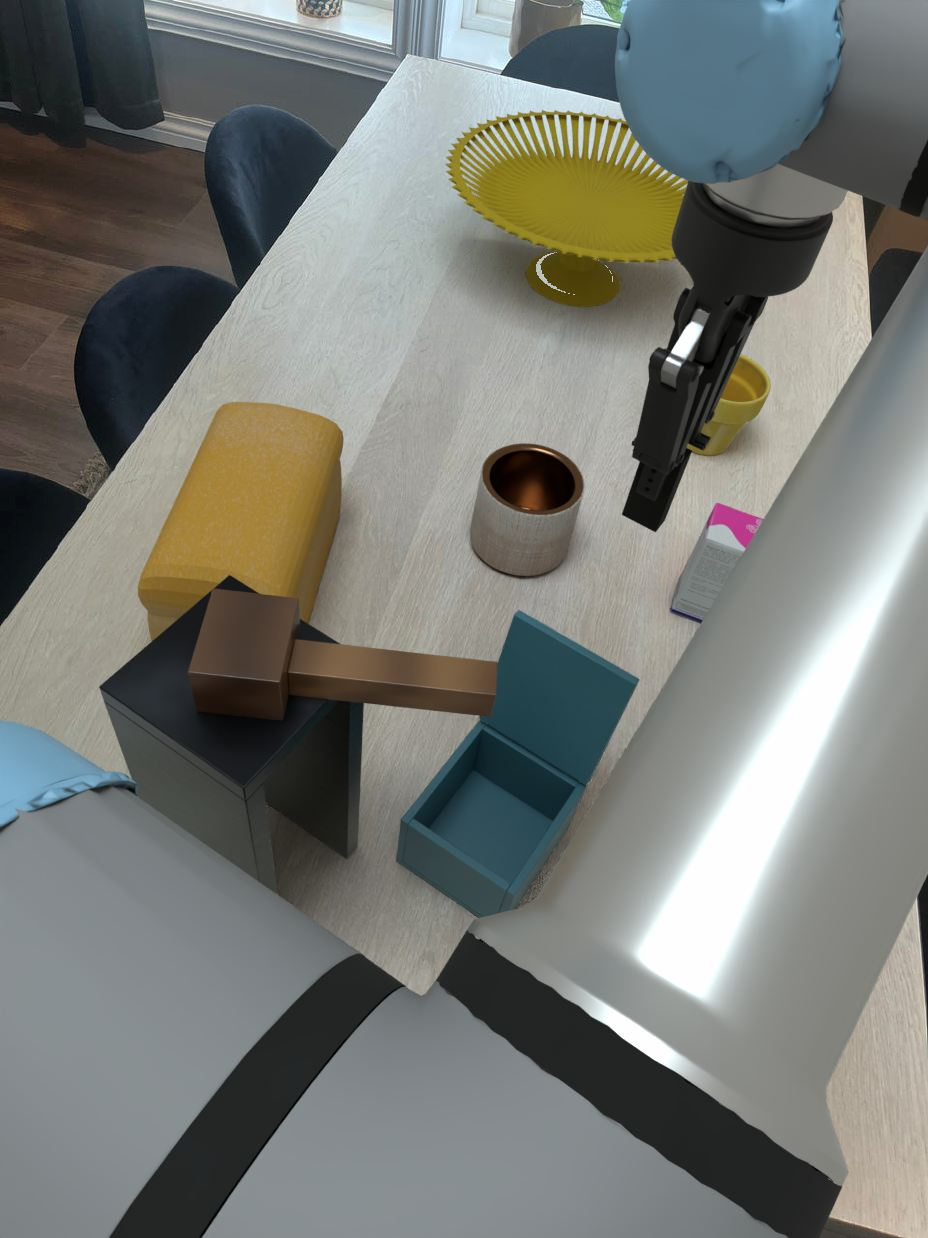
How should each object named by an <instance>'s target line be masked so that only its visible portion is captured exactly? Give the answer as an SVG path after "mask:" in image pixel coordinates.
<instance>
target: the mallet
mask: <svg viewBox="0 0 928 1238" xmlns="http://www.w3.org/2000/svg"><path fill="white" fill-rule="evenodd" d="M497 666H498V661H492V660H483V659H475V658H465V657H456V656H448V655H440V654H429V653H421V652H413V651H403V650H395V649H394V650H393V649H385V648H377V647H369V646H368V647H367V646H358V645H350V644H342V643H340V644H333V643H324V642H315V641H306V640H301V634H300V614H299V599H298V598H292V597H283V596H274V595H266V594H257V593H248V592H240V591H231V590H222V589H213V590H212V593H211V597H210V600H209V603H208V607H207V610H206V613H205V617H204V620H203V623H202V627H201V630H200V633H199V637H198V640H197V643H196V647H195V650H194V653H193V657H192V660H191V663H190V667H189V670H188V675H189V679H190V684H191V688H192V693H193V697H194V702H195V707H196V711H197V712H206V713H215V714H224V715H233V716H243V717H252V718H261V719H270V720H280V721H283V720H284V715H285V711H286V706H287V701H288V697H289V695H294V696H303V697H312V698H322V699H331V700H340V701H349V702H358V703H364V704H368V705H378V706H386V707H394V708H396V707H397V708H405V709H412V710H413V709H414V710H424V711H430V712H431V711H432V712H439V713H440V712H442V713H450V714H461V715H468V716H469V715H470V716H478V717H479V716H486V717H491V714H492V710H493V706H494V702H495V698H496V688H497Z"/></svg>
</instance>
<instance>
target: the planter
mask: <svg viewBox="0 0 928 1238" xmlns="http://www.w3.org/2000/svg"><path fill="white" fill-rule="evenodd" d="M584 492H585V479H584V476H583V474H582V471H581V470H580V468H579V467H578V466H577V464H576V463H575V462H574V461H573V460H572V459H570V457H568V456H567V455H565V454H564V453H562V452H561V451H558V450H557V449H554V448H552V447H550V446H549V447H548V446H546V445H541V444H536V443H530V442H529V443H526V442H523V443H522V442H521V443H512V444H507V445H504V446H502V447H499V448H498V449H496V450H494V451H493V452H491V453H490V454H489V455H488V456H487V457H486V458H485V460H484V461H483V463H482V466H481V469H480V474H479V479H478V485H477V490H476V495H475V502H474V505H473V506H474V507H473V512H472V517H471V522H470V527H469V528H470V530H469V532H470V533H469V535H470V542H471V545H472V547H473V550H474V551H475V553H476V554H477V556H478V557H479V558H480V559H481V560H482V561H483V562H485V564H487V565H489V566H490V567H491V568H494V569H495V570H497V571H499V572H501V573H506V574H508V575H513V576H519V577H531V576H539V575H542V574H545V573H548V572H550V571H553V569H555V568H557V567H558V566H559V565H560V564H561V563H562V562H563V560H564V559H565V557H566V555H567V553H568V552H569V548H570V545H571V541H572V537H573V533H574V529H575V525H576V522H577V518H578V513H579V510H580V507H581V503H582V500H583V496H584V494H585V493H584Z"/></svg>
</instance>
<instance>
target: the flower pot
mask: <svg viewBox="0 0 928 1238" xmlns="http://www.w3.org/2000/svg"><path fill="white" fill-rule="evenodd" d="M771 386H772V385H771V380H770V377H769V375H768V373H767V372H766V370H765V369H764V368H763V367H762V366H761V365H760V364H759V363H757V362H756V361H755V360H754V359H752V358H750V357H748V356H747V355H744V354H742V353H741V354H740V356H739V358H738V361H737V363H736V365H735V367H734V369H733V372H732V374H731V376H730V378H729V380H728V383H727V385H726V387H725V389H724V391H723V394H722V396H721V398H720V400H719V402H718V405H717V407H716V409H715V411H714V413H715V415H714V417H713V418H712V420H710V422H708V423H707V424H706V423H704V425H703V428H702V431H701V433H703V434H705V435H707V436H709V437H711V439H710V441H709V443H708V445H707V446H706V448H705V449H704V450H703V451H702V450H700V449H698V448H696V447H694V446H692V445H690V444H688V445H687V448H688V449H690V450H692V453H694V454H697V455H701V456H716V455H719V454H722V453H723V452H725V451H726V450H727V448H728V447H729V446H730V445H731V444H732V442H733V440H734V439H735V438H736V437H737V435H738V434H739V433H740V431H742V430H743V428H744V427H745V425H746V424H747V423H749V422H751V421H753V420H754V419H755V418H757V416H758V415H759V414H760V412H761V410H762V409H763V407H764V405H765V404H766V401H767V399H768V397H769V395H770V392H771Z"/></svg>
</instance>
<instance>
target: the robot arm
mask: <svg viewBox="0 0 928 1238" xmlns="http://www.w3.org/2000/svg"><path fill="white" fill-rule="evenodd" d="M614 75H615V77H614V78H615V87H616V93H617V98H618V102H619V105H620V109H621V110H620V111H621V112H622V115H623V119H624V121H625V122H627V124H628V126H629V131H630V132H631V133H632V134H633V136H634V138H635V139H636V141H635V142H637V143H638V146H639V145H640V146H641V147H642V149H643V151H644V153H645V155H646V154H647V155H648V156H650V159H651V160H653V161H655V162H656V163H657V165H658V166H660V167H663V168H664V169H665V170H664V171H666V172H670V173H672V175H673V176H678V177H681V179H683V180H685V179H686V180H689V181H688V183H687V184H686V186H685V187H686V190H685V194H684V197H683V200H682V204H681V207H680V210H679V214H678V217H677V220H676V223H675V227H674V230H673V233H672V248H673V252H674V254H675V256H676V258H677V259H676V260H677V261H678V263H679V264H680V265H681V266H682V267H683V268H684V269H685V271H686V272H687V273H688V275H689V276H690V278H691V281H692V287H691V288H689V287H684V289H683V290H682V292H681V293H680V295H679V297H678V299H677V302H676V305H675V309H674V311H673V314H672V315H673V316H672V319H673V322H674V325H673V328H672V332H671V335H670V337H669V340H668V343H667V345H666V346H667V347H666V348H663V347H660V346H657V348H655V349H654V351H653V352H652V353H651V354H650V356H649V360H648V361H649V362H648V366H647V368H648V383H647V387H646V391H645V396H644V401H643V405H642V410H641V414H640V420H639V423H638V427H637V432H636V436H635V437H634V439H633V440H632V441H631V446H632V447H633V448H632V455H631V458H633V459H634V460H636V461H638V465H637V468H636V471H635V474H634V477H633V480H632V483H631V486H630V489H629V492H628V495H627V498H626V501H625V503H624V506H623V509H622V512H621V516H623V517H625V518H627V519H629V520H631V521H632V522H634V523H637V524H638V525H640V526H642V527H644V528H646V529H648V530H650V531H652V532H654V533H657V532H658V530H659V529H660V528H661V526H662V525H663V524H664V522H665V521H666V520H667V519H666V518H667V516H668V514H669V512H670V508H671V506H672V504H673V501H674V498H675V496H676V494H677V491H678V489H679V486H680V483H681V481H682V478H683V476H684V473H685V470H686V469H687V465H688V463H689V460H690V458H691V455H692V453H693V452H692V450H690V449H688V448H687V445H688V444H690V445H692V446H694V447H696V448H698V449H700V450H702V451H703V450H704V449H705V448H706V446H707V445H708V443H709V441H710V439H711V437H709V436H707V435H705V434H703V433H701V431H702V428H703V425H704V423H706V424H707V423H708V422H710V420H712V418H713V417H714V415H715V413H714V411H715V409H716V407H717V405H718V402H719V400H720V398H721V396H722V394H723V391H724V389H725V387H726V385H727V383H728V380H729V378H730V376H731V374H732V372H733V369H734V367H735V365H736V363H737V361H738V358H739V356H740V354H742V352H743V350H744V348H745V345H746V343H747V341H748V339H749V337H750V334H751V332H752V330H753V329H754V325H755V323H756V322H757V320H758V319H759V318H760V317H761V315H762V314H763V313H764V310H765V308H766V305H767V302H768V299H769V297H775V296H781V295H785V294H787V293H790V292H793V291H794V290H796V289H797V288H800V287H801V286H802V285H803V284H804V283H805V282H806V280H807V279H808V278H809V276H810V274H811V273H812V270H813V268H814V266H815V264H816V261H817V259H818V257H819V254H820V252H821V249H822V248H823V245H824V243H825V241H826V239H827V236H828V234H829V231H830V229H831V227H832V224H833V221H834V214H833V212H834V211H835V210H837V209H839V208H840V206H841V205H842V204H843V203H844V201H845V199H846V196H847V193H848V192H851V193H853V194H856V195H859V196H861V197H864V198H865V199H869V200H872V201H875V202H877V203H879V204H882V205H885V206H888V207H890V208H893V209H895V210H898V211H900V212H903V213H905V214H908V215H910V216H913V217H916V218H920V219H923V220H925V221H928V0H629V1H628V4H627V5H626V9H625V11H624V13H623V16H622V19H621V23H620V25H619V28H618V33H617V36H616V47H615V55H614ZM762 519H763V521H762V523H761V524H760V526H759V528H758V529H757V531H756V533H755V534H754V536H753V538H752V539H751V541H750V543H749V544H748V546H747V548H746V549H745V551H744V553H743V554H742V556H741V558H740V559H739V561H738V563H737V564H736V566H735V568H734V569H733V571H732V573H731V574H730V576H729V578H728V579H727V581H726V583H725V584H724V586H723V588H722V589H721V591H720V593H719V594H718V596H717V597H716V599H715V601H714V602H713V604H712V606H711V607H710V609H709V611H708V612H707V614H706V616H705V617H704V619H703V621H702V622H701V623H700V624H699V626H698V627H697V628H696V630H695V632H694V634H693V636H692V637H691V639H690V640H689V643H688V644H687V646H686V648H685V649H684V651H683V652H682V654H681V656H680V657H679V659H678V661H677V662H676V664H675V666H674V667H673V669H672V671H671V673H670V674H669V676H668V677H667V679H666V681H665V682H664V684H663V686H662V687H661V689H660V690H659V692H658V694H657V696H656V697H655V699H654V701H653V703H652V704H651V705H650V707H649V709H648V711H647V712H646V714H645V716H644V717H643V719H642V721H641V722H640V724H639V726H638V727H637V729H636V731H635V732H634V734H633V735H632V737H631V738H630V740H629V742H628V744H627V746H626V748H625V749H624V751H623V753H622V754H621V755H620V757H619V759H618V761H617V763H616V764H615V766H614V767H613V769H612V771H611V772H610V774H609V776H608V777H607V779H606V781H605V782H604V784H603V786H602V787H601V789H600V790H599V792H598V794H597V796H596V797H595V799H594V801H593V802H592V804H591V805H590V808H589V809H588V811H587V813H586V814H585V815H584V817H583V819H582V820H581V822H580V824H579V826H578V828H577V829H576V831H575V832H574V834H573V835H572V837H571V839H570V841H569V842H568V844H567V845H566V848H565V849H564V850H563V853H562V854H561V856H560V857H559V859H558V861H557V862H556V864H555V866H554V867H553V869H552V870H551V873H550V874H549V875H548V877H547V879H546V880H545V882H544V884H543V886H542V887H541V889H540V890H539V892H538V894H537V895H536V897H535V898H534V899H533V900H531V901H529V902H528V903H526V904H525V905H523V906H521V907H516V909H513V910H509V911H505V912H502V913H498V914H494V915H490V916H486V917H482V918H478V917H477V918H474V919H473V921H472V922H471V923H470V925H469V926H468V928H467V930H465V932H464V934H463V936H462V937H461V938H460V940H459V942H458V943H457V945H456V947H455V949H454V950H453V952H452V954H451V955H450V957H448V960H447V962H446V963H445V964H444V967H443V968H442V970H441V971H440V972H439V975H438V976H437V978H436V979H435V981H434V982H433V983H432V985H431V986H430V987H429V989H427V991H426V992H425V993H424V994H422V995H421V994H419V993H417V992H416V991H414V990H412V989H410V988H409V987H407V985H405V984H403V983H402V982H401V981H400V980H399V979H397V978H396V977H394V976H392V975H391V974H390V973H388V972H387V971H386V970H384V969H383V968H382V967H380V966H379V965H378V964H376V963H374V962H373V961H372V960H371V959H370V958H368V957H366V956H365V955H364V954H363V953H362V952H360V950H359V951H358V950H357V949H356V948H354V947H353V946H352V945H351V944H349V943H347V942H346V941H344V940H343V939H341V938H340V937H339V936H337V935H336V934H335V933H333V932H332V931H331V930H329V929H327V928H326V927H324V926H323V925H322V924H320V923H319V922H317V921H316V920H315V919H313V918H312V917H310V916H309V915H307V914H306V913H305V912H303V911H302V910H300V909H299V908H297V907H296V906H294V905H293V904H292V903H290V902H288V901H287V900H286V899H284V898H283V897H281V896H280V895H279V894H278V895H277V894H276V893H274V892H273V891H271V890H270V889H269V888H267V887H266V886H264V885H263V884H261V883H260V882H259V881H257V880H256V879H254V878H253V877H251V876H250V875H249V874H247V873H246V872H244V871H243V870H241V869H240V868H239V867H237V866H236V865H234V864H233V863H231V862H230V861H229V860H227V859H226V858H224V857H223V856H221V855H220V854H219V853H217V852H216V851H214V850H213V849H211V848H210V847H209V846H207V845H206V844H204V843H203V842H201V841H200V840H199V839H197V838H196V837H194V836H193V835H191V834H190V833H189V832H187V831H186V830H184V829H183V828H181V827H180V826H179V825H177V824H176V823H174V822H173V821H171V820H170V819H169V818H167V817H166V816H164V815H163V814H161V813H160V812H158V811H157V810H156V809H154V808H153V807H151V806H150V805H148V804H147V803H146V802H144V801H143V800H141V799H140V798H138V795H139V789H138V787H137V783H136V782H134V781H133V780H132V778H131V776H128V774H126V773H123V772H122V771H112V770H111V771H110V770H105V769H103V768H102V767H100V766H98V765H97V764H95V763H94V762H92V761H91V760H89V759H88V758H86V757H84V756H83V755H81V754H80V753H78V752H77V751H75V750H73V749H72V748H71V747H69V746H67V745H66V744H64V743H63V742H61V741H60V740H58V739H57V738H55V737H53V736H51V735H50V734H49V733H47V732H45V731H43V730H41V729H38V728H36V727H32V726H29V725H26V724H23V723H20V722H15V721H10V720H0V1238H820V1237H821V1235H822V1233H823V1231H824V1228H825V1227H826V1224H827V1223H828V1220H829V1218H830V1215H831V1213H832V1211H833V1209H834V1207H835V1204H836V1203H837V1200H838V1198H839V1195H840V1193H841V1191H842V1189H843V1185H844V1184H845V1181H846V1180H847V1177H848V1176H849V1169H848V1165H847V1163H846V1159H845V1156H844V1153H843V1150H842V1147H841V1144H840V1141H839V1137H838V1134H837V1131H836V1128H835V1125H834V1122H833V1118H832V1116H831V1112H830V1109H829V1106H828V1103H827V1094H828V1093H827V1091H828V1089H827V1088H828V1086H829V1084H830V1082H831V1080H832V1077H833V1076H834V1073H835V1072H836V1070H837V1067H838V1065H839V1063H840V1060H841V1059H842V1056H843V1054H844V1052H845V1050H846V1048H847V1046H848V1044H849V1041H850V1040H851V1038H852V1035H853V1033H854V1031H855V1029H856V1027H857V1024H858V1022H859V1020H860V1019H861V1017H862V1014H863V1012H864V1010H865V1008H866V1006H867V1003H868V1002H869V1000H870V998H871V995H872V993H873V991H874V989H875V987H876V984H877V983H878V981H879V979H880V978H879V977H880V976H881V974H882V972H883V970H884V968H885V965H886V963H887V961H888V959H889V957H890V955H891V953H892V950H893V948H894V946H895V945H896V942H897V940H898V939H899V936H900V934H901V931H902V930H903V928H904V926H905V923H906V921H907V919H908V917H909V915H910V913H911V910H912V909H913V906H914V904H915V903H916V900H917V898H918V896H919V894H920V892H921V890H922V887H923V885H924V883H925V881H926V879H927V877H928V245H927V246H926V248H925V249H924V251H923V253H922V254H921V256H920V258H919V259H918V261H917V263H916V265H915V266H914V268H913V269H912V271H911V273H910V275H908V278H907V280H906V281H905V283H904V285H903V286H902V288H901V289H900V291H899V293H898V295H897V296H896V298H895V300H894V301H893V302H892V304H891V306H890V308H889V310H888V311H887V313H886V314H885V316H884V318H883V319H882V321H881V322H880V325H879V326H878V327H877V330H876V331H875V332H874V335H873V336H872V338H871V340H870V341H869V342H868V345H867V346H866V348H865V349H864V351H863V353H862V354H861V356H860V357H859V359H858V361H857V363H856V364H855V366H854V368H853V369H852V371H851V373H850V374H849V376H848V377H847V379H846V380H845V383H844V385H843V386H842V388H841V389H840V391H839V393H838V395H836V398H835V400H834V401H833V403H832V405H831V406H830V407H829V409H828V411H827V412H826V414H825V415H824V418H823V420H822V421H821V423H820V424H819V426H818V428H817V429H816V431H815V433H814V434H813V436H812V437H811V439H810V441H809V443H808V444H807V446H806V448H805V449H804V451H803V453H802V454H801V456H800V458H799V459H798V461H797V463H796V465H794V468H793V469H792V471H791V473H790V474H789V476H788V478H787V480H786V481H785V482H784V484H783V486H782V487H781V489H780V491H779V493H778V494H777V495H776V497H775V499H774V501H773V503H772V504H771V506H770V508H769V509H768V511H767V512H766V514H765V516H764V517H763V518H762Z"/></svg>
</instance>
